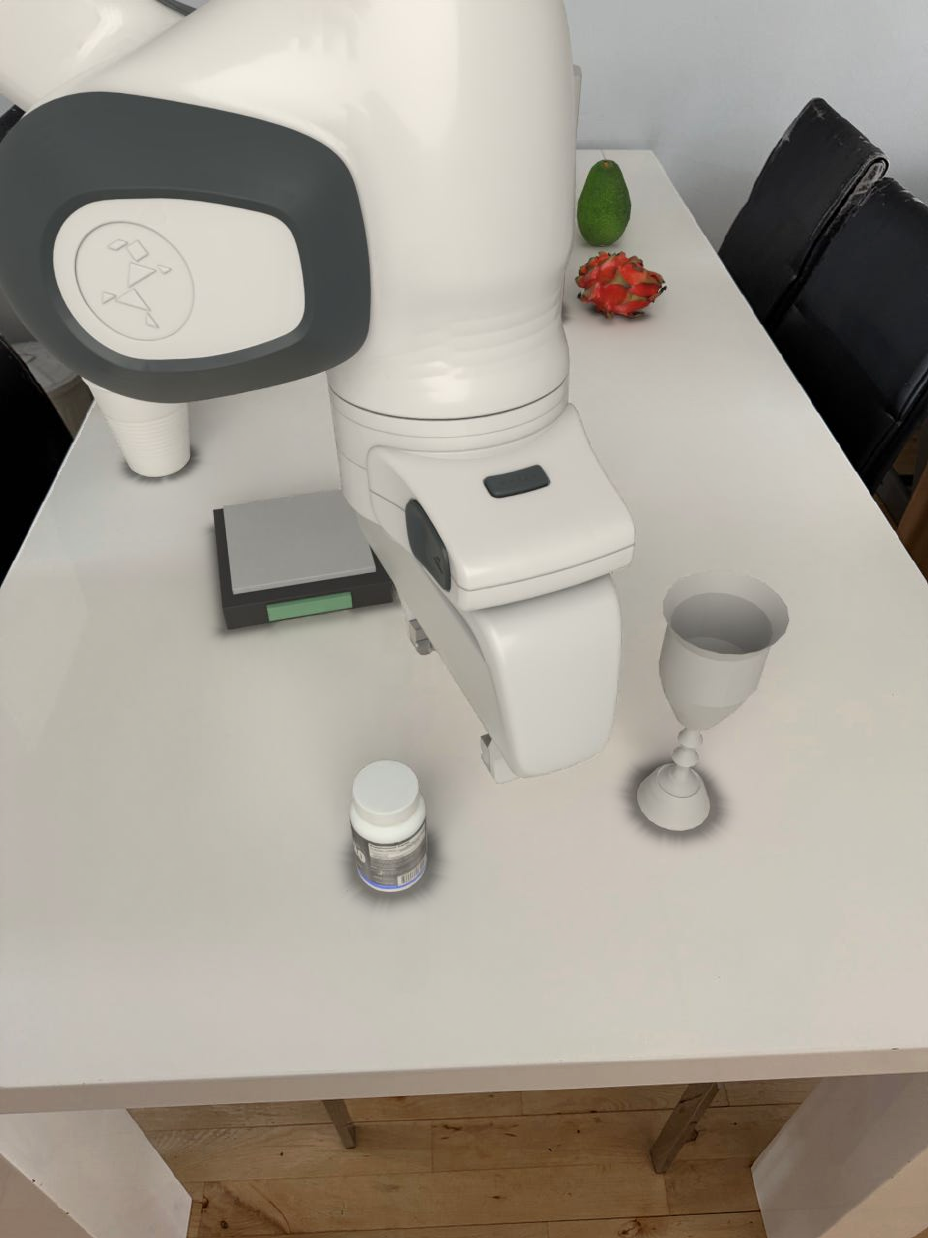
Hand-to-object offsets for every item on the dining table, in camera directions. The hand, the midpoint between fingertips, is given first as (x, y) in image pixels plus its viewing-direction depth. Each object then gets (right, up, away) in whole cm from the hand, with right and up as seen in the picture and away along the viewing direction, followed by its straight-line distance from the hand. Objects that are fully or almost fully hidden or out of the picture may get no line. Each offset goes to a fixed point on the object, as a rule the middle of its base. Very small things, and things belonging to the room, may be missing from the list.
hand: (464, 702), depth 43 cm
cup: (-31, +20, +51) cm, 63 cm away
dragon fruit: (+20, +45, +77) cm, 91 cm away
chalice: (+15, -9, +20) cm, 27 cm away
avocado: (+21, +60, +94) cm, 113 cm away
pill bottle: (-5, -12, +17) cm, 21 cm away
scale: (-15, +9, +39) cm, 42 cm away
